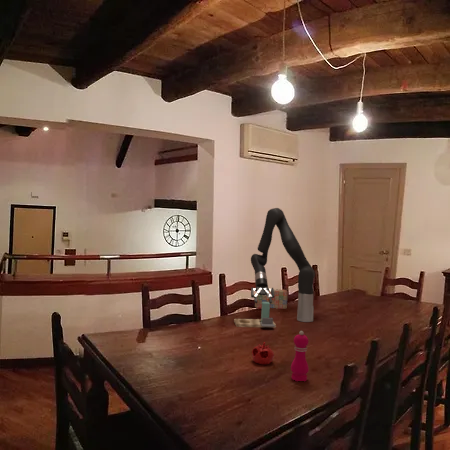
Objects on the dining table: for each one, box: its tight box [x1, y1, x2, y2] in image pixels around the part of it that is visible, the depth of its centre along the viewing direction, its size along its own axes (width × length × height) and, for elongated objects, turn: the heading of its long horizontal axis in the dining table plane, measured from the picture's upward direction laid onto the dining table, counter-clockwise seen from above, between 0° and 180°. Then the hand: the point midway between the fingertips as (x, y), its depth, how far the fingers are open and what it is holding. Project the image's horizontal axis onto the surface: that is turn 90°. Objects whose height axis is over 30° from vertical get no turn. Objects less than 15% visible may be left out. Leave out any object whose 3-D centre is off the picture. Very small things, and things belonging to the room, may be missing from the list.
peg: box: [260, 302, 271, 322], centre depth 263 cm, size 4×4×13 cm
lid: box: [260, 317, 275, 328], centre depth 255 cm, size 7×7×4 cm
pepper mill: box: [290, 330, 309, 382], centre depth 183 cm, size 7×7×20 cm
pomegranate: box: [251, 341, 275, 365], centre depth 201 cm, size 10×10×9 cm
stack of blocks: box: [254, 288, 288, 310], centre depth 311 cm, size 21×6×12 cm, turn 102°
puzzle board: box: [233, 318, 277, 329], centre depth 263 cm, size 23×12×2 cm, turn 95°
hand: (263, 303), depth 270 cm, fingers open, 8 cm apart
